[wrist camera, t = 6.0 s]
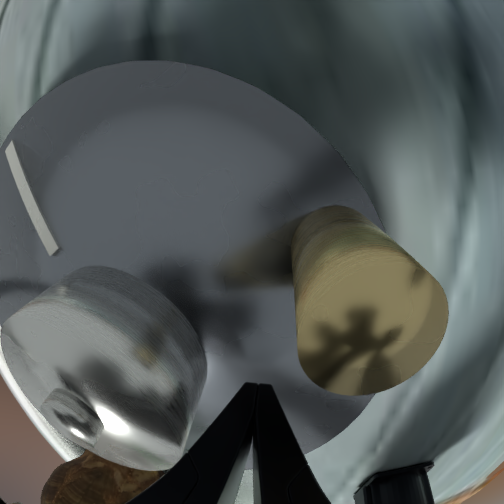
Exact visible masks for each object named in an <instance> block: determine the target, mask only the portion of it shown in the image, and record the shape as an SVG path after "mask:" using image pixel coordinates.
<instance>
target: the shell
mask: <svg viewBox="0 0 504 504" xmlns="http://www.w3.org/2000/svg"><path fill="white" fill-rule="evenodd" d="M164 474H165V473H164V472H163V471H162V470H160V471H147V470H139V469H135V468H130V467H126V466H123V465H120V464H117V463H114V462H112V461H109V460H107V459H105V458H102V457H100V456H98V455H96V454H94V453H92V452H90V451H89V450H87V449H86V450H85V452H84V453H83V455H81V456H80V457H78V458H75V459H73V460H71V461H69V462H66V463H64V464H61V465H60V466H58V467H57V468H56V469H55V470H54V471H53V473H52V474H51V476H50V478H49V479H48V481H47V482H46V484H45V485H44V488H43V490H42V494H41V504H125V503H127V502H128V501H130V500H131V499H133V498H134V497H136V496H137V495H138V494H140V493H141V492H143V491H144V490H145V489H147V488H148V487H149V486H151V485H152V484H153V483H155V482H156V481H157V480H158V479H160V478H161V477H162V476H163V475H164Z"/></svg>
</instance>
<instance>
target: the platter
mask: <svg viewBox="0 0 504 504" xmlns="http://www.w3.org/2000/svg"><path fill="white" fill-rule="evenodd" d="M92 265H96V266H106V267H111V268H116V269H118V270H121V271H124V272H127V273H129V274H131V275H133V276H135V277H138V278H139V279H141V280H143V281H144V282H146V283H148V284H149V285H151V286H152V287H153V288H155V289H156V290H157V291H159V292H160V293H162V294H163V295H164V296H165V297H166V298H167V299H168V300H169V301H171V302H172V303H173V304H174V305H175V306H176V307H177V309H178V310H179V311H180V312H181V313H182V314H183V315H184V316H185V318H186V319H187V320H188V322H189V323H190V324H191V326H192V327H193V329H194V331H195V332H196V334H197V335H198V337H199V339H200V342H201V344H202V346H203V349H204V352H205V355H206V360H207V379H206V383H205V386H204V389H203V392H202V395H201V398H200V401H199V404H198V408H197V411H196V414H195V417H194V420H193V423H192V426H191V429H190V432H189V435H188V438H187V441H186V444H185V448H184V451H183V454H182V457H183V455H184V454H185V453H187V451H188V450H189V449H190V448H191V447H192V446H193V444H194V443H195V442H196V441H197V440H198V439H199V438H200V436H201V435H202V434H203V433H204V432H205V431H206V429H207V428H208V427H209V426H210V425H211V424H212V422H213V421H214V420H215V419H216V418H217V416H218V415H219V414H220V413H221V411H222V410H223V409H224V408H225V407H226V405H227V404H228V403H229V402H230V400H231V399H232V398H233V397H234V395H235V394H236V393H237V392H238V390H239V389H240V388H241V386H242V385H243V384H244V383H245V382H255V383H258V384H259V383H268V384H271V385H272V386H273V388H274V390H275V393H276V395H277V397H278V400H279V402H280V404H281V406H282V408H283V411H284V413H285V415H286V417H287V420H288V422H289V424H290V426H291V428H292V430H293V433H294V435H295V437H296V439H297V441H298V443H299V446H300V448H301V450H302V452H303V454H307V453H309V452H311V451H312V450H314V449H316V448H318V447H320V446H322V445H323V444H325V443H327V442H328V441H330V440H331V439H332V438H334V437H335V436H337V435H338V434H339V433H341V432H342V431H343V430H344V429H345V428H347V427H348V426H349V425H350V424H351V423H352V422H353V421H354V420H355V419H356V418H357V417H358V416H359V415H360V414H361V412H362V411H363V410H364V409H365V407H366V406H367V405H368V403H369V402H370V401H371V399H372V398H373V396H374V395H375V394H376V393H378V392H381V391H385V390H387V389H390V388H392V387H394V386H396V385H398V384H400V383H402V382H404V381H405V380H407V379H409V378H410V377H411V376H413V375H414V374H415V373H417V372H418V371H419V370H420V369H421V368H422V367H423V366H424V365H425V364H426V363H427V362H428V361H429V360H430V359H431V357H432V356H433V355H434V353H435V352H436V350H437V349H438V347H439V345H440V343H441V341H442V339H443V337H444V334H445V331H446V328H447V323H448V314H449V311H448V302H447V298H446V295H445V293H444V290H443V288H442V287H441V285H440V284H439V282H438V281H437V280H436V279H435V278H434V277H433V276H432V275H431V274H430V273H429V272H428V271H427V270H426V269H425V268H423V267H422V266H421V265H420V264H419V263H418V262H417V261H416V260H415V259H414V258H413V257H412V256H411V255H409V254H408V253H407V252H406V251H405V250H404V249H403V248H402V247H400V246H399V245H398V244H397V243H396V242H395V241H394V240H392V239H391V238H390V237H389V236H388V235H387V234H386V232H385V230H384V227H383V225H382V223H381V221H380V219H379V216H378V214H377V212H376V210H375V208H374V206H373V204H372V202H371V200H370V198H369V196H368V194H367V192H366V190H365V189H364V188H363V186H362V185H361V183H360V182H359V180H358V179H357V177H356V176H355V175H354V173H353V172H352V170H351V169H350V168H349V166H348V165H347V163H346V162H345V161H344V159H343V158H342V157H341V155H340V154H339V153H338V152H337V151H336V149H335V148H334V147H333V146H332V145H331V144H330V143H329V142H328V141H327V140H326V139H324V138H323V137H322V136H321V135H320V134H319V133H318V132H317V131H316V130H315V129H314V128H313V127H312V126H311V125H310V124H309V123H308V122H307V121H306V120H304V119H303V118H302V117H301V116H300V115H299V114H297V113H296V112H294V111H293V110H291V109H290V108H288V107H287V106H285V105H284V104H282V103H281V102H279V101H278V100H276V99H275V98H273V97H272V96H270V95H269V94H267V93H265V92H264V91H262V90H260V89H259V88H257V87H255V86H253V85H251V84H248V83H246V82H244V81H241V80H239V79H236V78H234V77H231V76H229V75H226V74H224V73H221V72H219V71H216V70H213V69H210V68H205V67H201V66H196V65H191V64H185V63H180V62H174V61H127V62H122V63H117V64H112V65H108V66H103V67H99V68H95V69H92V70H90V71H88V72H85V73H83V74H80V75H78V76H76V77H74V78H71V79H69V80H67V81H65V82H64V83H62V84H60V85H59V86H57V87H56V88H54V89H53V90H51V91H50V92H49V93H47V94H46V95H44V96H43V97H42V98H40V99H39V100H38V101H37V102H36V103H35V104H34V105H33V106H32V107H31V108H30V109H29V110H28V111H27V112H26V113H25V114H24V115H23V116H22V117H21V119H20V120H19V121H18V122H17V124H16V125H15V126H14V128H13V129H12V130H11V132H10V133H9V135H8V136H7V138H6V140H5V141H4V143H3V145H2V147H1V149H0V325H1V327H2V325H3V324H4V322H5V321H6V320H7V319H8V318H10V317H11V316H12V315H13V314H15V313H16V312H17V311H18V310H20V309H21V308H22V307H24V306H25V305H26V304H27V303H29V302H30V301H31V300H33V299H34V298H35V297H37V296H38V295H39V294H41V293H42V292H44V291H45V290H46V289H48V288H49V287H50V286H52V285H53V284H55V283H56V282H57V281H59V280H60V279H62V278H63V277H65V276H66V275H67V274H69V273H71V272H72V271H74V270H76V269H78V268H81V267H84V266H92ZM252 442H253V439H252ZM182 457H181V458H182ZM249 469H253V457H252V444H251V448H250V452H249V456H248V459H247V463H246V466H245V469H244V470H249Z"/></svg>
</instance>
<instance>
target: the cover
mask: <svg viewBox="0 0 504 504" xmlns="http://www.w3.org/2000/svg"><path fill="white" fill-rule="evenodd" d="M0 338H1V346H2V351H3V354H4V357H5V360H6V363H7V365H8V367H9V370H10V372H11V373H12V375H13V377H14V379H15V381H16V382H17V384H18V385H19V387H20V388H21V390H22V391H23V393H24V394H25V396H26V397H27V398H28V399H29V401H30V402H31V403H32V404H33V405H34V407H35V408H36V409H37V410H38V411H39V412H40V413H41V414H42V415H43V416H44V417H45V418H46V420H47V421H48V422H49V423H50V424H51V425H52V426H53V427H54V428H55V429H56V430H57V431H58V432H59V433H60V434H62V435H63V436H64V437H66V438H67V439H69V440H70V441H72V442H73V443H75V444H77V445H79V446H81V447H84V448H85V449H87V450H89V451H90V452H92V453H94V454H96V455H98V456H100V457H102V458H105V459H107V460H109V461H112V462H114V463H117V464H120V465H123V466H126V467H130V468H135V469H139V470H147V471H160V470H166V469H170V468H172V467H173V466H174V465H175V464H176V463H177V462H178V461H179V460H180V459H181V457H182V454H183V451H184V448H185V444H186V441H187V438H188V435H189V432H190V429H191V426H192V423H193V420H194V417H195V414H196V411H197V408H198V404H199V401H200V398H201V395H202V392H203V389H204V386H205V383H206V379H207V360H206V355H205V352H204V349H203V346H202V344H201V342H200V339H199V337H198V335H197V334H196V332H195V331H194V329H193V327H192V326H191V324H190V323H189V322H188V320H187V319H186V318H185V316H184V315H183V314H182V313H181V312H180V311H179V310H178V309H177V307H176V306H175V305H174V304H173V303H172V302H171V301H169V300H168V299H167V298H166V297H165V296H164V295H163V294H162V293H160V292H159V291H157V290H156V289H155V288H153V287H152V286H151V285H149V284H148V283H146V282H144V281H143V280H141V279H139V278H138V277H135V276H133V275H131V274H129V273H127V272H124V271H121V270H118V269H116V268H111V267H106V266H96V265H92V266H84V267H81V268H78V269H76V270H74V271H72V272H71V273H69V274H67V275H66V276H65V277H63V278H62V279H60V280H59V281H57V282H56V283H55V284H53V285H52V286H50V287H49V288H48V289H46V290H45V291H44V292H42V293H41V294H39V295H38V296H37V297H35V298H34V299H33V300H31V301H30V302H29V303H27V304H26V305H25V306H24V307H22V308H21V309H20V310H18V311H17V312H16V313H15V314H13V315H12V316H11V317H10V318H8V319H7V320H6V321H5V322H4V324H3V325H2V329H1V335H0Z"/></svg>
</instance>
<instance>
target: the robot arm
mask: <svg viewBox="0 0 504 504" xmlns="http://www.w3.org/2000/svg"><path fill="white" fill-rule="evenodd" d="M252 439H253V442H252ZM251 444H252V457H253V497H254V504H331V502H330V501H329V500H328V498H327V497H326V495H325V494H324V492H323V491H322V489H321V487H320V486H319V484H318V482H317V480H316V478H315V476H314V475H313V473H312V471H311V468H310V466H309V465H308V462H307V460H306V458H305V456H304V454H303V452H302V450H301V448H300V446H299V443H298V441H297V439H296V437H295V435H294V433H293V430H292V428H291V426H290V424H289V422H288V420H287V417H286V415H285V413H284V411H283V408H282V406H281V404H280V402H279V400H278V397H277V395H276V393H275V390H274V388H273V386H272V385H271V384H268V383H259V384H258V383H255V382H245V383H244V384H243V385H242V386H241V388H240V389H239V390H238V392H237V393H236V394H235V395H234V397H233V398H232V399H231V400H230V402H229V403H228V404H227V405H226V407H225V408H224V409H223V410H222V411H221V413H220V414H219V415H218V416H217V418H216V419H215V420H214V421H213V422H212V424H211V425H210V426H209V427H208V428H207V429H206V431H205V432H204V433H203V434H202V435H201V436H200V438H199V439H198V440H197V441H196V442H195V443H194V444H193V446H192V447H191V448H190V449H189V450H188V451H187V453H185V454H184V455H183V457H182V458H181V459H180V460H179V461H178V462H177V463H176V464H175V465H174V466H173V467H172V468H171V469H170V470H169V471H168V472H167V473H166V474H164V475H163V476H162V477H161V478H160V479H158V480H157V481H156V482H155V483H153V484H152V485H151V486H149V487H148V488H147V489H145V490H144V491H143V492H141V493H140V494H138V495H137V496H136V497H134V498H133V499H131V500H130V501H128V502H127V503H125V504H234V502H235V499H236V496H237V493H238V489H239V486H240V483H241V480H242V476H243V473H244V469H245V466H246V463H247V459H248V456H249V452H250V448H251ZM433 466H434V462H429V463H425V464H421V465H417V466H413V467H409V468H404V469H399V470H394V471H389V472H383V473H378V474H375V475H374V476H372V477H371V479H370V480H369V481H368V482H367V483H366V484H365V485H364V486H363V487H362V488H361V489H360V490H359V491H358V492H357V493H356V494H355V495H354V496H353V497H354V500H355V504H435V503H434V499H433V495H432V491H431V487H430V483H429V479H428V475H427V472H428V471H429V470H430V469H431V468H432V467H433ZM0 504H8V503H7V502H6V501H5V500H3V499H2V498H1V497H0ZM11 504H22V503H20V502H15V503H11Z"/></svg>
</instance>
